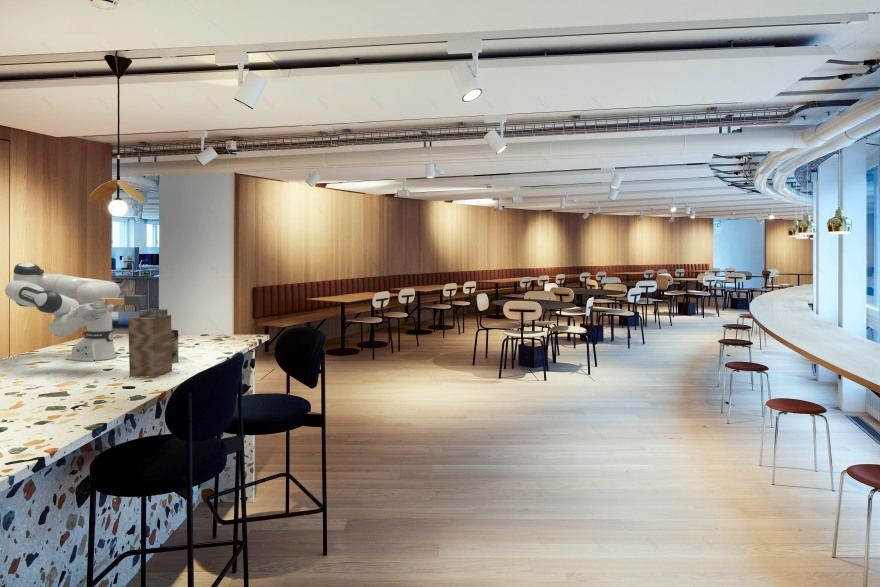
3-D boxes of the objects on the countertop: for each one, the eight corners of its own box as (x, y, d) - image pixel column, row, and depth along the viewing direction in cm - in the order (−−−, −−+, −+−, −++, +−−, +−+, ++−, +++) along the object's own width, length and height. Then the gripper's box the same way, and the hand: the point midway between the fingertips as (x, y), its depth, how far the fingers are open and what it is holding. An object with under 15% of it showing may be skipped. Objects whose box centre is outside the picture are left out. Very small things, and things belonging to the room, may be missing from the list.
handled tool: (97, 304, 268) (96, 295, 268) (104, 303, 273) (103, 294, 273) (139, 305, 267) (139, 296, 267) (145, 304, 272) (145, 295, 272)
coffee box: (161, 364, 291) (160, 331, 290) (154, 363, 295) (154, 330, 293) (179, 362, 298) (178, 330, 297) (172, 360, 302) (171, 328, 301)
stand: (129, 376, 265) (128, 311, 262) (147, 370, 278) (145, 307, 276) (155, 377, 264) (154, 311, 262) (172, 370, 278) (171, 308, 275)
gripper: (64, 311, 261) (90, 296, 260) (93, 306, 281) (118, 292, 280) (71, 324, 261) (97, 308, 260) (100, 318, 281) (125, 304, 280)
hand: (108, 300), depth 270 cm, fingers closed on handled tool, 3 cm apart
